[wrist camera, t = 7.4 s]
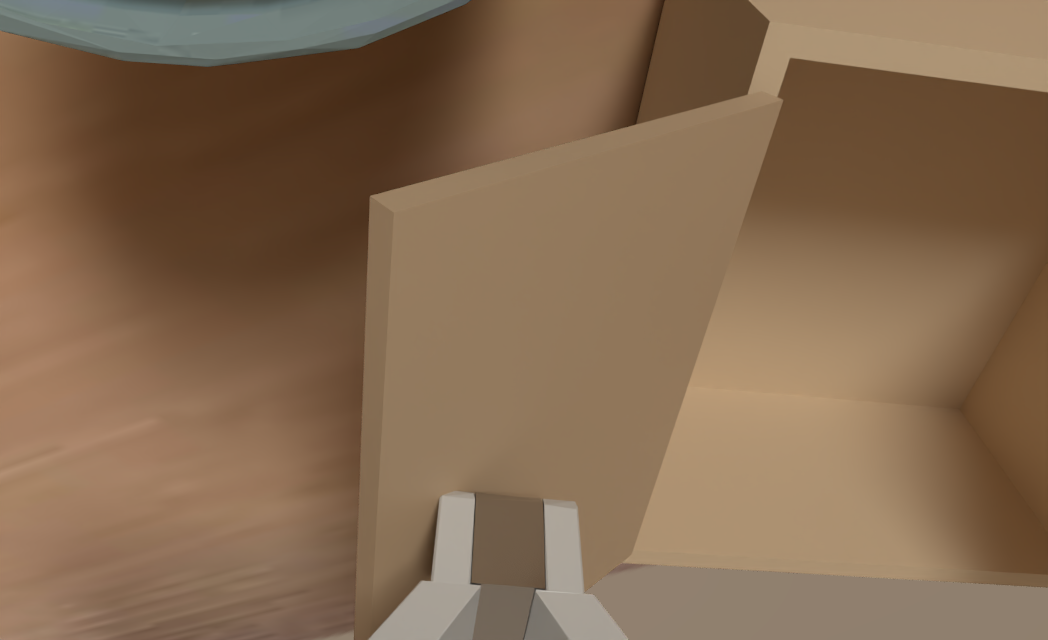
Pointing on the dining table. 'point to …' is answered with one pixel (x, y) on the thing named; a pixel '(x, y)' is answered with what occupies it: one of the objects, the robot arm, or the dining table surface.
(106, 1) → the green embossed planter pot
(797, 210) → the carton
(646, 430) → the flap
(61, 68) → the dining table surface
